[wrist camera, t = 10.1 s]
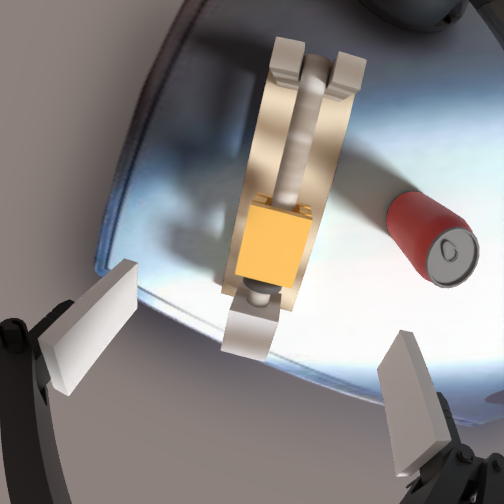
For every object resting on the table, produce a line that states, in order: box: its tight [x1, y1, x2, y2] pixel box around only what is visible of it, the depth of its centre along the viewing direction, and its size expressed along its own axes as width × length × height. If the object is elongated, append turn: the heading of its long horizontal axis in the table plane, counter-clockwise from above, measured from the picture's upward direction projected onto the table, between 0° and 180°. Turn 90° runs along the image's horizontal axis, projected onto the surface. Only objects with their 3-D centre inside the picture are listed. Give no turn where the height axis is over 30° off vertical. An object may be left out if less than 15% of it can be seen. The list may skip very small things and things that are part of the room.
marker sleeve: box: [235, 192, 313, 289], centre depth 26 cm, size 6×5×5 cm
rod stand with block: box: [221, 37, 367, 362], centre depth 28 cm, size 28×9×12 cm, turn 168°
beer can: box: [386, 191, 479, 288], centre depth 27 cm, size 7×7×12 cm
